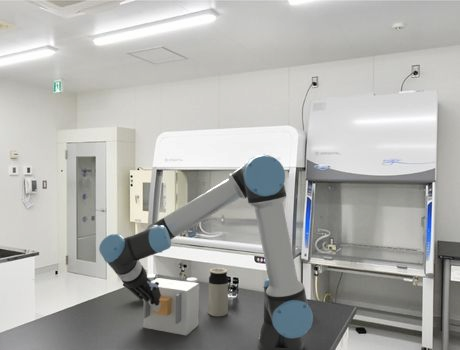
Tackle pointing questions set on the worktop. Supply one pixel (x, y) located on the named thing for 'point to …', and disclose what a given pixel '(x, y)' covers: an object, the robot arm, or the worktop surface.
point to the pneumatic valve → (151, 277)
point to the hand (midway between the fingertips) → (158, 307)
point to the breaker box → (175, 307)
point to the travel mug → (218, 292)
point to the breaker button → (164, 306)
